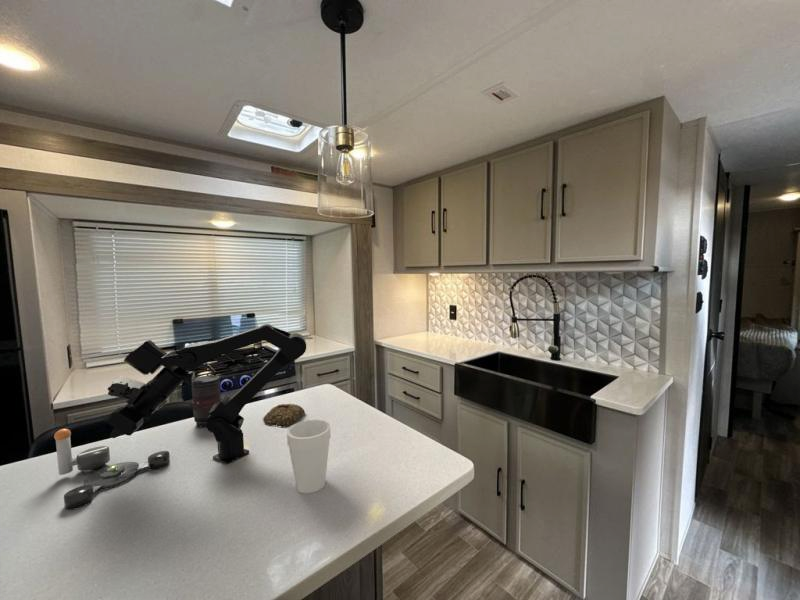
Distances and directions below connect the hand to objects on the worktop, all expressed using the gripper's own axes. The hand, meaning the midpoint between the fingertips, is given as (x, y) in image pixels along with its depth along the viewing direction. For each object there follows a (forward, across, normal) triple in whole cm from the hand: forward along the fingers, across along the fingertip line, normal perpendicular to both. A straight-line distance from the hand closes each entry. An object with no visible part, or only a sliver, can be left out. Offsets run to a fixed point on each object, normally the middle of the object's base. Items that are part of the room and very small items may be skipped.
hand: (112, 436), depth 80 cm
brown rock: (-19, -21, +34) cm, 44 cm away
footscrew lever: (+12, -4, 0) cm, 12 cm away
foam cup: (-25, +20, +39) cm, 50 cm away
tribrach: (+8, 0, +6) cm, 10 cm away
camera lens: (-3, -26, +17) cm, 31 cm away
